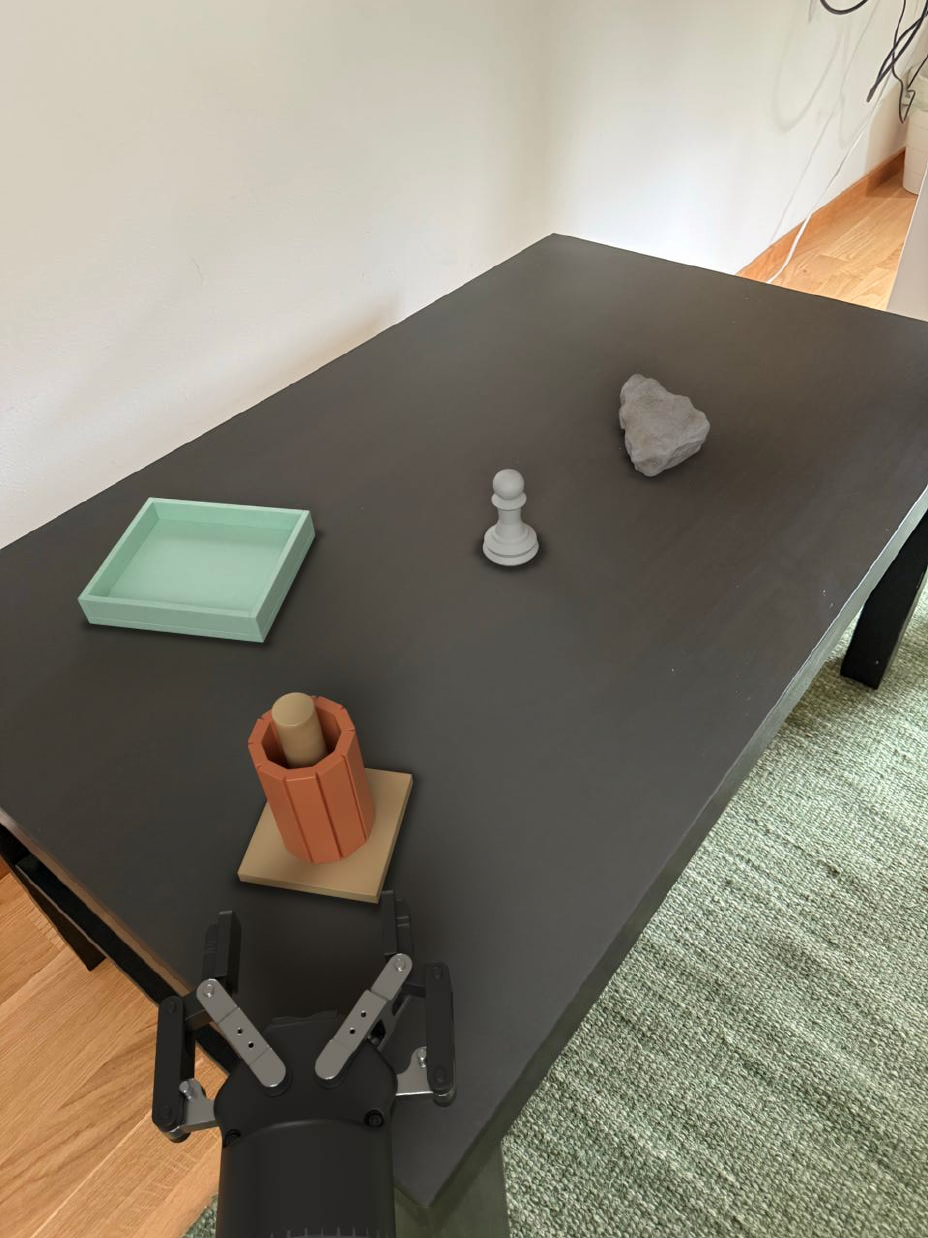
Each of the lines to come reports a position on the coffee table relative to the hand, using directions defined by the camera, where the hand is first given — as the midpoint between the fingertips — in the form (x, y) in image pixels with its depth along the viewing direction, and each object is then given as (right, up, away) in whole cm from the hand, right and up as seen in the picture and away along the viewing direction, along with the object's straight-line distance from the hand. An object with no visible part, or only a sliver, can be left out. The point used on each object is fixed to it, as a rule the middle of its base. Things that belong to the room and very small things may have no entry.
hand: (309, 907), depth 50 cm
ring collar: (0, +2, +10) cm, 10 cm away
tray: (-14, +19, +29) cm, 37 cm away
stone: (+26, +31, +38) cm, 56 cm away
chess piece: (+12, +21, +29) cm, 38 cm away
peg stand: (0, +2, +11) cm, 11 cm away
